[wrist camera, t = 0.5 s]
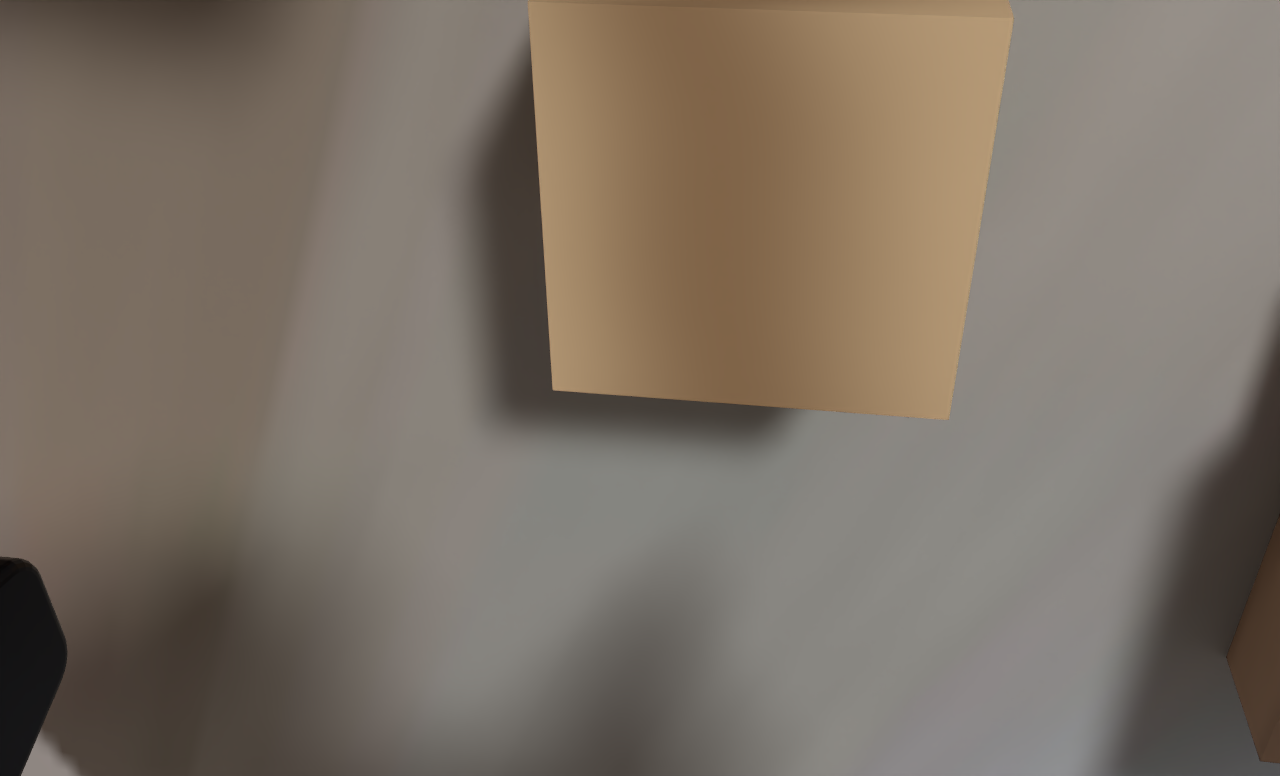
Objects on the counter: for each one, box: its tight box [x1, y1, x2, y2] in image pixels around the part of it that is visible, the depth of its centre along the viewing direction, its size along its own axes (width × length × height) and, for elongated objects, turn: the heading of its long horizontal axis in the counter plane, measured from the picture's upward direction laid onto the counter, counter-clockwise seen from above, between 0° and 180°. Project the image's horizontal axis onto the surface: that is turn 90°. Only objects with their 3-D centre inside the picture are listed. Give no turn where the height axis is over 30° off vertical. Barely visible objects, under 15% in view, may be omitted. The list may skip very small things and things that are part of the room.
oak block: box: [528, 0, 1014, 420], centre depth 16 cm, size 5×5×5 cm
